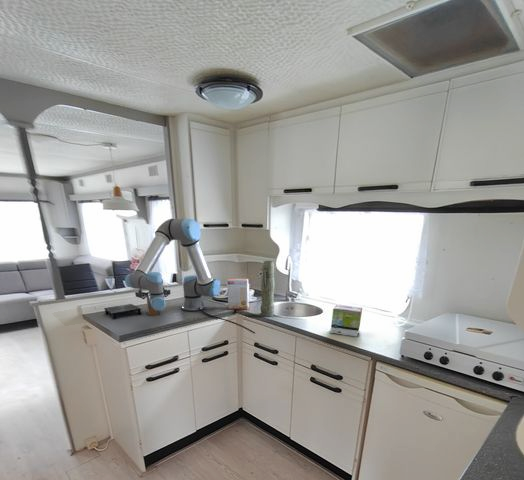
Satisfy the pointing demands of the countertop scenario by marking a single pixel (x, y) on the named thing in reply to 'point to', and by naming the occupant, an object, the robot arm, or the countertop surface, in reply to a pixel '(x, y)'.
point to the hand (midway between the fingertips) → (151, 290)
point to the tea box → (346, 320)
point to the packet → (151, 309)
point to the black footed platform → (122, 309)
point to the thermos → (267, 289)
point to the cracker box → (238, 294)
